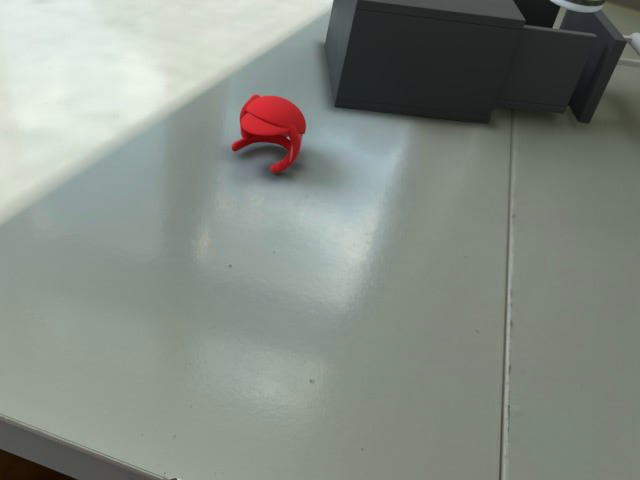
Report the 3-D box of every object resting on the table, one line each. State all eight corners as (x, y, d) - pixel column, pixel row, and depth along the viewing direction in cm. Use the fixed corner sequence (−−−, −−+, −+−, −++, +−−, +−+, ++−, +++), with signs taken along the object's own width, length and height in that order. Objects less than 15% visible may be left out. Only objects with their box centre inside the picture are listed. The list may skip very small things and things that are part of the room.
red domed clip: (241, 130, 72) (249, 69, 68) (305, 144, 71) (317, 84, 67) (220, 176, 66) (228, 112, 62) (289, 192, 65) (301, 129, 61)
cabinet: (460, 62, 89) (491, -34, 82) (488, 124, 79) (526, 20, 72) (324, 45, 88) (343, -54, 81) (334, 106, 78) (357, -1, 70)
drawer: (609, 74, 90) (645, -2, 84) (651, 131, 80) (694, 49, 74) (428, 52, 88) (452, -28, 82) (450, 108, 78) (478, 22, 73)
